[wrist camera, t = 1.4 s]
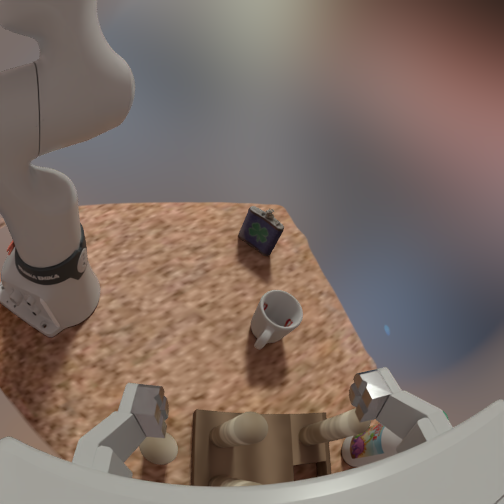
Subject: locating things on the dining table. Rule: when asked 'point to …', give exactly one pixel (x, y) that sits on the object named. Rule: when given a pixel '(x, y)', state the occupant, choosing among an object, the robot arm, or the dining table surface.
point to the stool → (263, 445)
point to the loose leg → (159, 449)
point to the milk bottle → (370, 446)
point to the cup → (275, 317)
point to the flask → (261, 230)
